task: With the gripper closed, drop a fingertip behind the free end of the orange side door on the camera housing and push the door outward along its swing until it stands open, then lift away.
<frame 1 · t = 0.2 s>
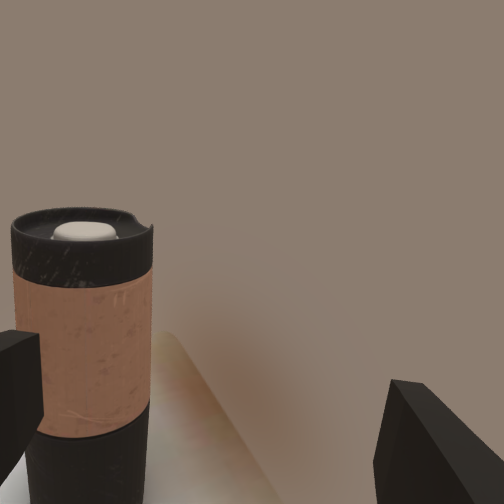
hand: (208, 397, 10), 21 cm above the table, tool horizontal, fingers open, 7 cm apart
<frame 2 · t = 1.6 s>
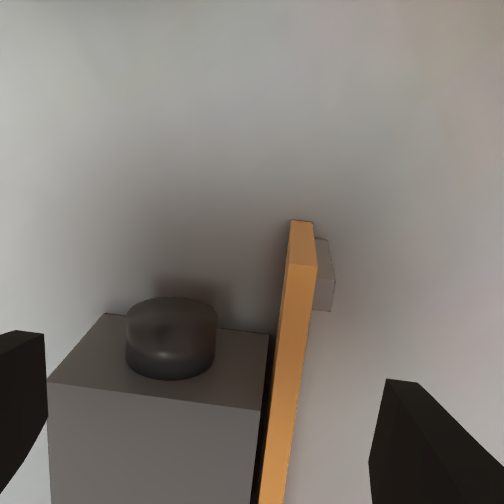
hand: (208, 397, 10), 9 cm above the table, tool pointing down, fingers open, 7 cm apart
camera housing: (180, 423, 22), on the table
side door: (284, 434, 18), point 3 cm above the table, hinge at 0.0°
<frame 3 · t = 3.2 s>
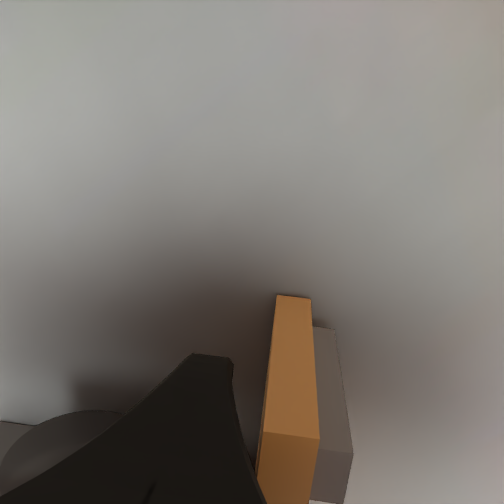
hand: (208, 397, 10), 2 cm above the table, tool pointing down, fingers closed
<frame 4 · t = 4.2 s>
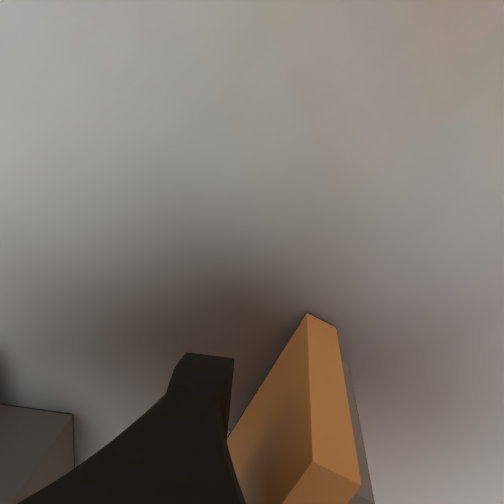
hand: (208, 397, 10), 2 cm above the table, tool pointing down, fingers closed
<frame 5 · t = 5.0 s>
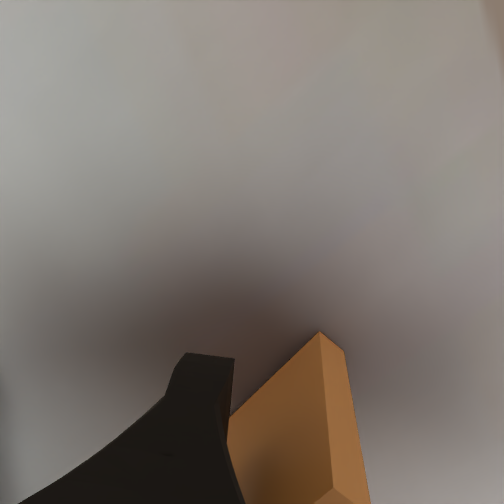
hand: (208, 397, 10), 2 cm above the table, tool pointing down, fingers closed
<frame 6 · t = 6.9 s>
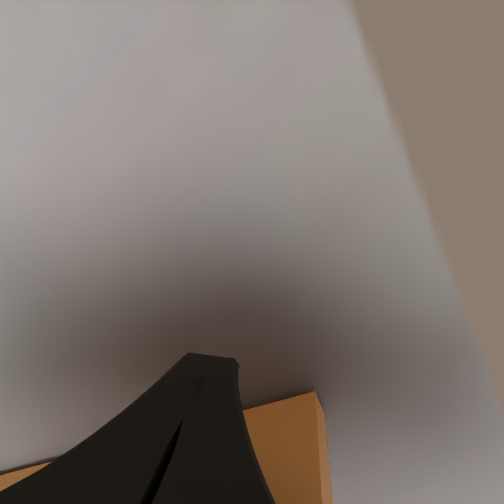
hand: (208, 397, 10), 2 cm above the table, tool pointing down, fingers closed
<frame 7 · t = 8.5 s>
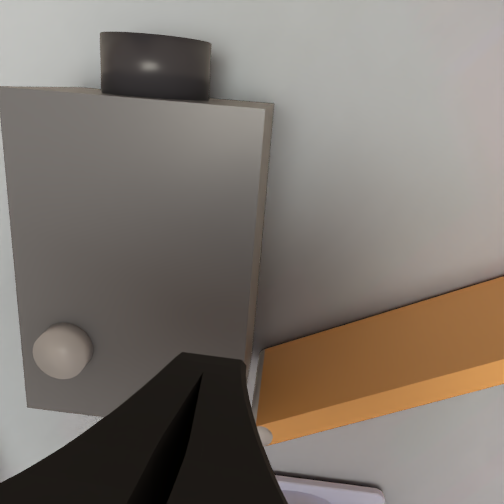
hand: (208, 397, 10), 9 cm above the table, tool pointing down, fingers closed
camera housing: (172, 230, 19), on the table
side door: (469, 341, 16), point 3 cm above the table, hinge at -63.8°
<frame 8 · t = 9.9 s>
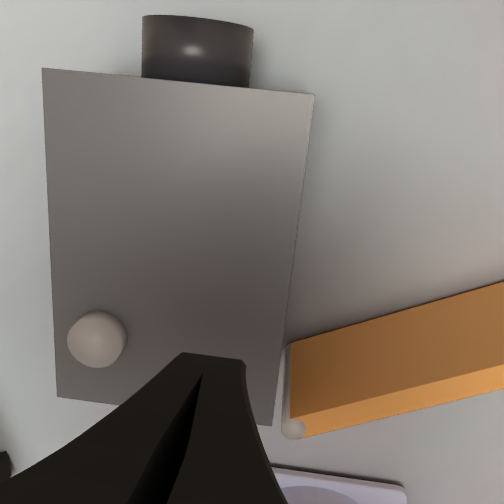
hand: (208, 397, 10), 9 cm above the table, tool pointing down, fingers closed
camera housing: (201, 221, 18), on the table
side door: (503, 336, 16), point 3 cm above the table, hinge at -63.8°
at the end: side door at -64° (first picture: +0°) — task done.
